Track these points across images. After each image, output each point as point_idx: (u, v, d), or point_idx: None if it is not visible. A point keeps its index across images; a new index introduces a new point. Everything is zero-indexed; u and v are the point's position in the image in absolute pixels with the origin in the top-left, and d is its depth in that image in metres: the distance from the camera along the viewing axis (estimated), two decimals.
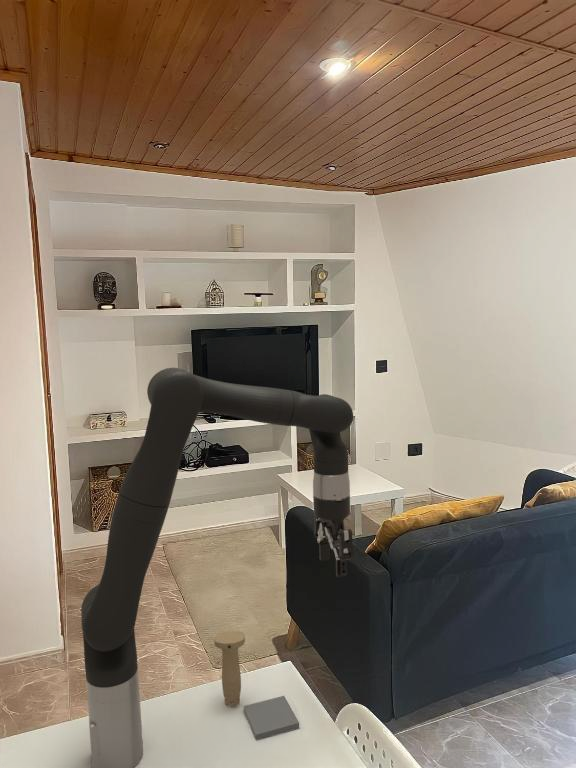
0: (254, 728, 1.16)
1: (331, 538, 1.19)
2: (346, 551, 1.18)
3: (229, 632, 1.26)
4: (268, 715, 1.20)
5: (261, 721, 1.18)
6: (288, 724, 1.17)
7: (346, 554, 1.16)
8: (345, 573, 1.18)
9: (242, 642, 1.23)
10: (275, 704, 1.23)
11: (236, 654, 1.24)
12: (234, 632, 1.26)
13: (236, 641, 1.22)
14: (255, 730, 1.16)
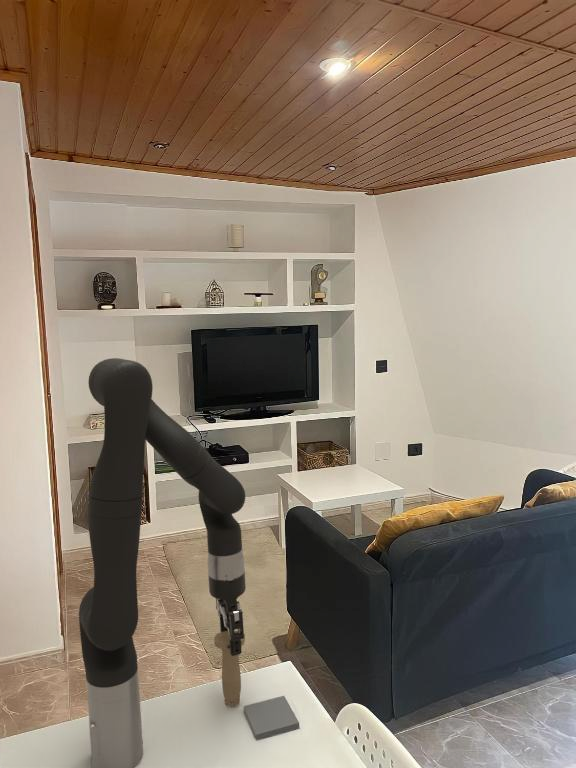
0: (254, 728, 1.16)
1: (225, 617, 1.20)
2: (239, 630, 1.19)
3: None
4: (268, 715, 1.20)
5: (261, 721, 1.18)
6: (288, 724, 1.17)
7: (237, 634, 1.17)
8: (238, 651, 1.19)
9: (242, 642, 1.23)
10: (275, 704, 1.23)
11: None
12: None
13: None
14: (255, 730, 1.16)
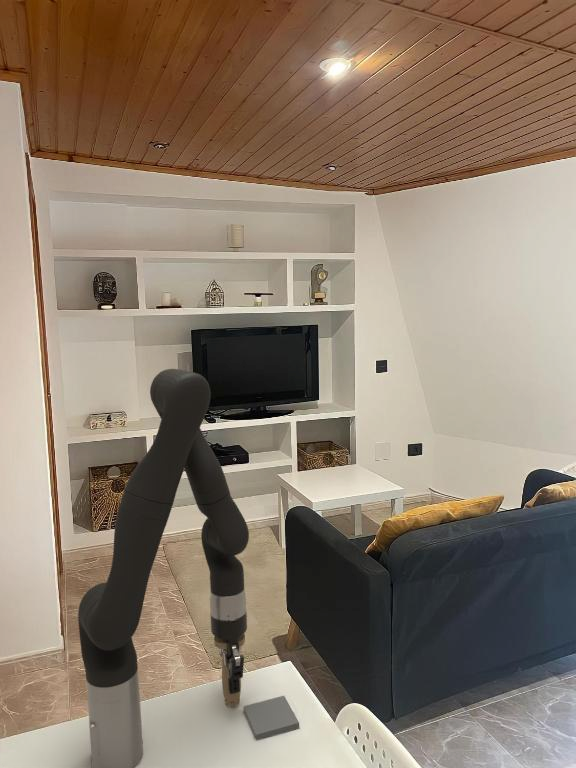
0: (254, 728, 1.16)
1: (225, 657, 1.22)
2: None
3: None
4: (268, 715, 1.20)
5: (261, 721, 1.18)
6: (288, 724, 1.17)
7: (236, 673, 1.20)
8: (237, 690, 1.22)
9: (242, 642, 1.23)
10: (275, 704, 1.23)
11: None
12: None
13: None
14: (255, 730, 1.16)
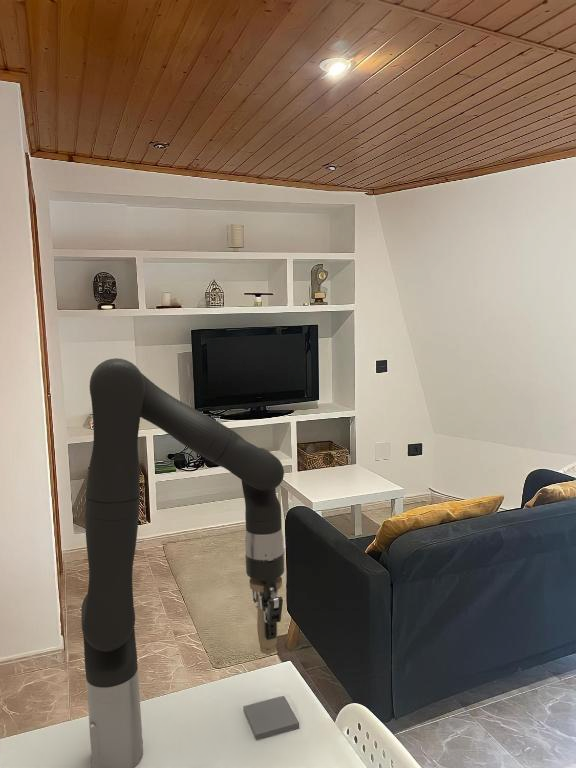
0: (254, 728, 1.16)
1: (262, 600, 1.14)
2: None
3: None
4: (268, 715, 1.20)
5: (261, 721, 1.18)
6: (288, 724, 1.17)
7: (273, 617, 1.13)
8: (274, 635, 1.15)
9: (279, 584, 1.15)
10: (275, 704, 1.23)
11: None
12: None
13: None
14: (255, 730, 1.16)
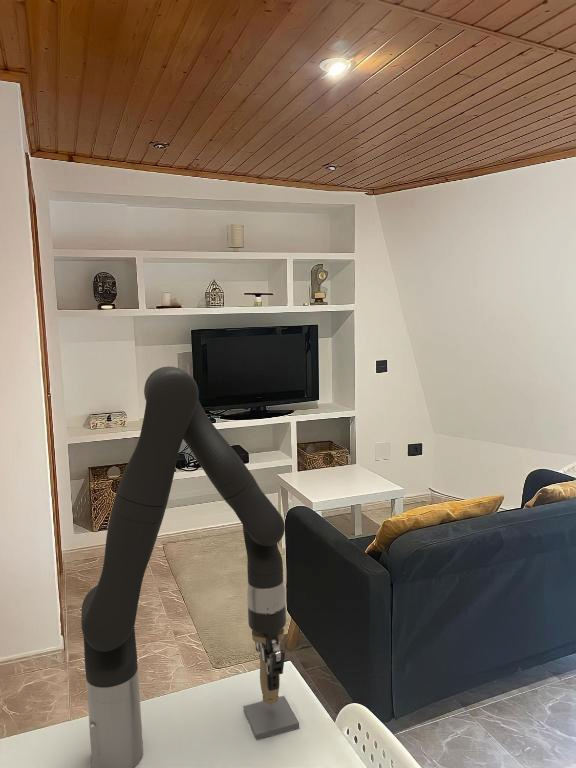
0: (254, 728, 1.16)
1: (264, 652, 1.16)
2: None
3: None
4: (268, 715, 1.20)
5: (261, 721, 1.18)
6: (288, 724, 1.17)
7: (276, 669, 1.14)
8: (276, 686, 1.16)
9: (282, 636, 1.17)
10: (275, 704, 1.23)
11: None
12: None
13: None
14: (255, 730, 1.16)
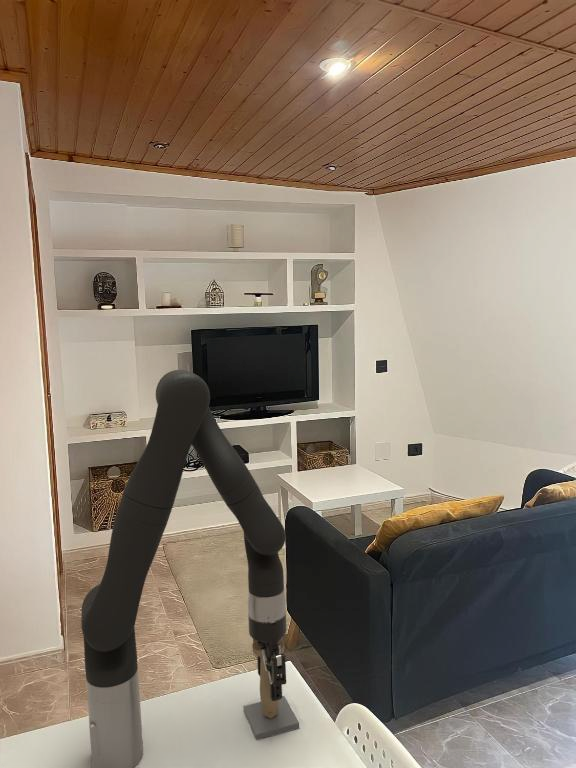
0: (254, 728, 1.16)
1: (265, 660, 1.15)
2: (280, 674, 1.15)
3: None
4: None
5: (261, 721, 1.18)
6: (288, 724, 1.17)
7: (279, 679, 1.13)
8: (279, 697, 1.15)
9: (282, 649, 1.17)
10: None
11: None
12: None
13: None
14: (255, 730, 1.16)
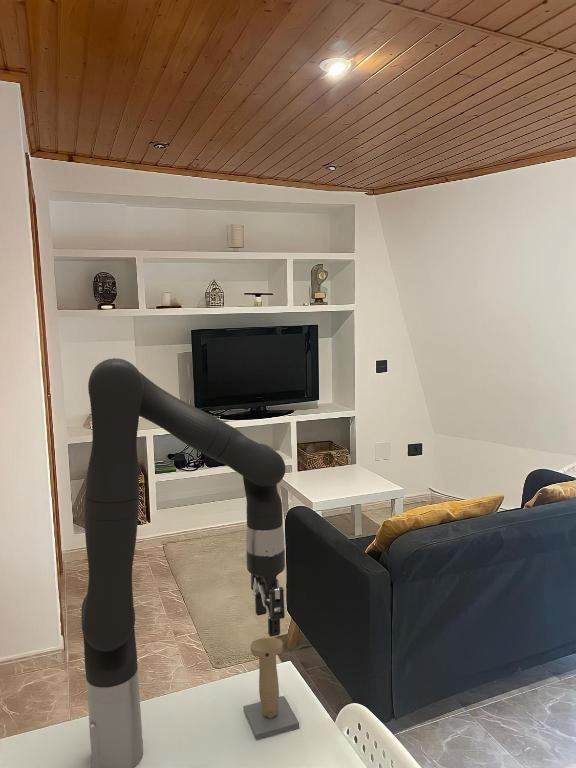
0: (254, 728, 1.16)
1: (263, 595, 1.14)
2: (279, 609, 1.13)
3: (266, 639, 1.20)
4: None
5: (261, 721, 1.18)
6: (288, 724, 1.17)
7: (277, 613, 1.11)
8: (277, 632, 1.13)
9: (280, 649, 1.17)
10: None
11: (274, 662, 1.18)
12: (271, 639, 1.20)
13: (274, 648, 1.17)
14: (255, 730, 1.16)
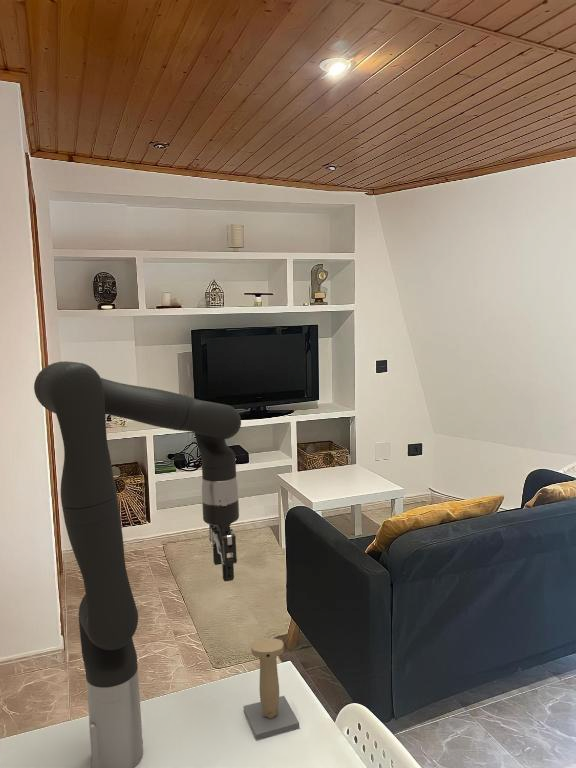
0: (254, 728, 1.16)
1: (218, 543, 1.21)
2: (232, 555, 1.20)
3: (267, 640, 1.20)
4: None
5: (261, 721, 1.18)
6: (288, 724, 1.17)
7: (230, 558, 1.18)
8: (231, 577, 1.20)
9: (281, 650, 1.17)
10: None
11: (275, 662, 1.18)
12: (272, 640, 1.20)
13: (275, 649, 1.17)
14: (255, 730, 1.16)
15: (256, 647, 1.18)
